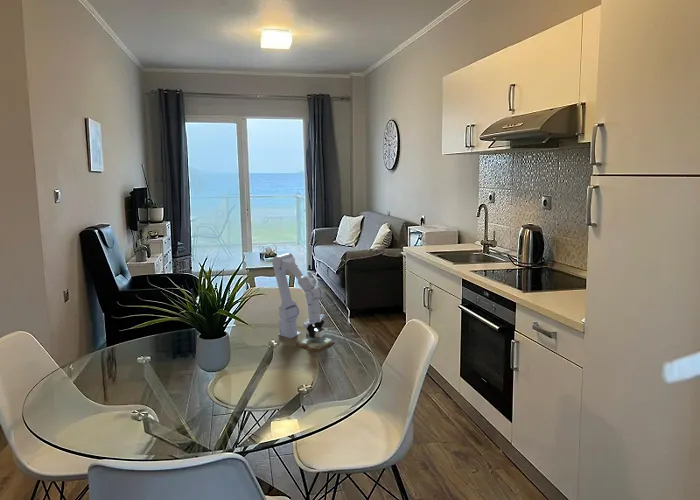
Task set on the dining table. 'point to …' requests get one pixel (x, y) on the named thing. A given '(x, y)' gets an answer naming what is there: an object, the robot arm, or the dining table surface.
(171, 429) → the dining table surface
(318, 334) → the housing
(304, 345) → the stand
